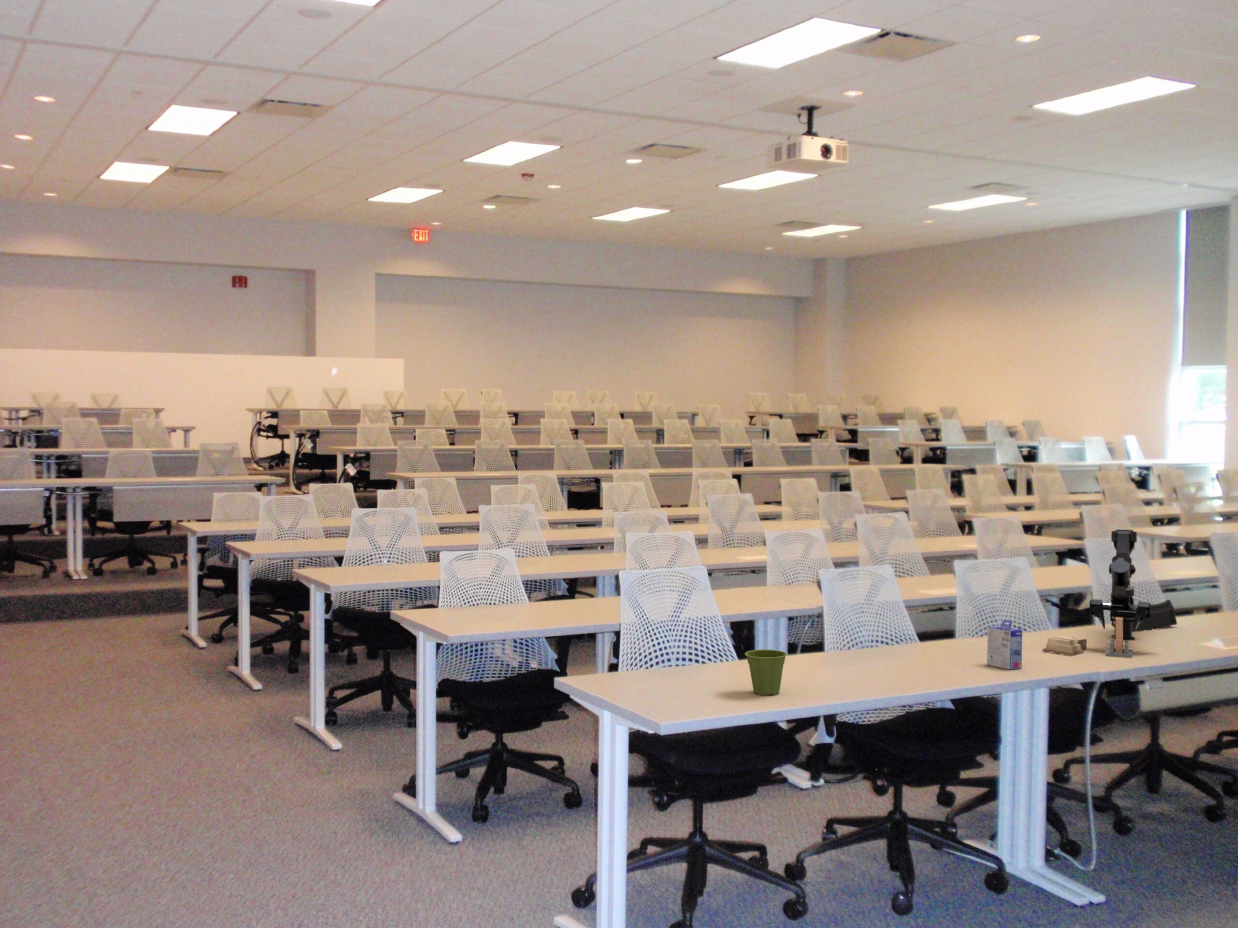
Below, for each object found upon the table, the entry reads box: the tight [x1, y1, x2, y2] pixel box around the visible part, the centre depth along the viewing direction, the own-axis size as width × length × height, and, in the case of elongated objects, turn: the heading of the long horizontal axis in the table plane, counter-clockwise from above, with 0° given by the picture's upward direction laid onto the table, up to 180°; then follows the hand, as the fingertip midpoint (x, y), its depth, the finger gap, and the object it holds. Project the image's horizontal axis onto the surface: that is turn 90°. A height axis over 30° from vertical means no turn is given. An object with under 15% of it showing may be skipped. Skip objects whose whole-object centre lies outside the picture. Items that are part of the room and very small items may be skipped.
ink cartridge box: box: [986, 619, 1023, 670], centre depth 356 cm, size 10×6×14 cm, turn 27°
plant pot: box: [744, 649, 788, 697], centre depth 320 cm, size 12×12×11 cm
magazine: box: [1110, 599, 1178, 632], centre depth 425 cm, size 17×3×30 cm
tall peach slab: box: [1115, 617, 1124, 653], centre depth 376 cm, size 5×2×11 cm, turn 154°
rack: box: [1042, 635, 1088, 657], centre depth 382 cm, size 15×10×5 cm, turn 130°
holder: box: [1104, 639, 1134, 659], centre depth 376 cm, size 10×8×4 cm
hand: (1119, 628), depth 375 cm, fingers open, 9 cm apart
